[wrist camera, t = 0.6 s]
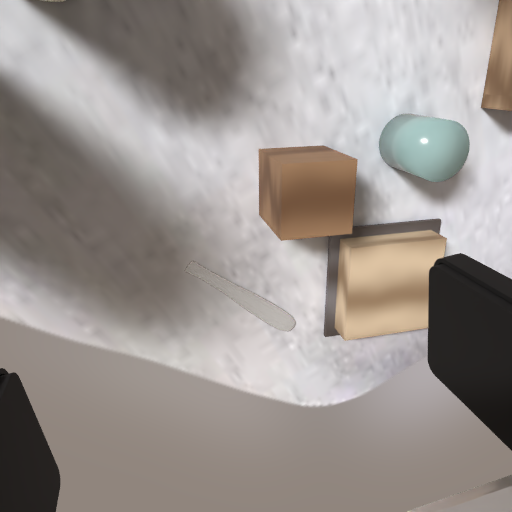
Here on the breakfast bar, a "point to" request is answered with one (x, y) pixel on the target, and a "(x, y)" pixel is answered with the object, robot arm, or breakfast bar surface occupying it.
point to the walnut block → (306, 191)
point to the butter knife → (245, 298)
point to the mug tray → (500, 62)
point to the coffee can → (54, 0)
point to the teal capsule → (424, 146)
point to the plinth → (381, 278)
